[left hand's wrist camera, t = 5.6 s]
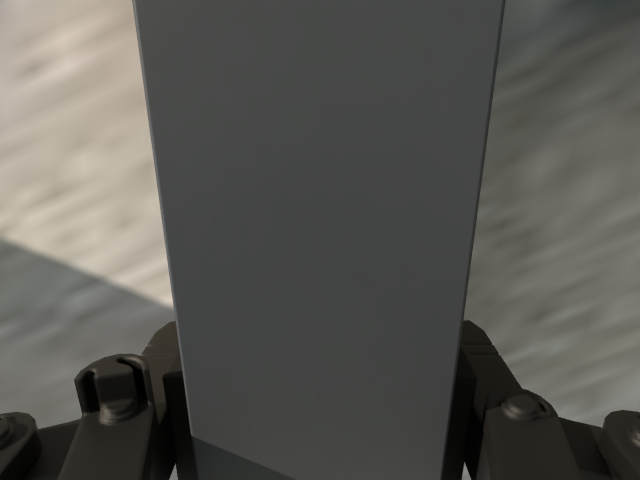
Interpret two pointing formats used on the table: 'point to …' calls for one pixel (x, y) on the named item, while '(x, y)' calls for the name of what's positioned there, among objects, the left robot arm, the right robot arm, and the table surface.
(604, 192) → the table surface
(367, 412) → the beam
